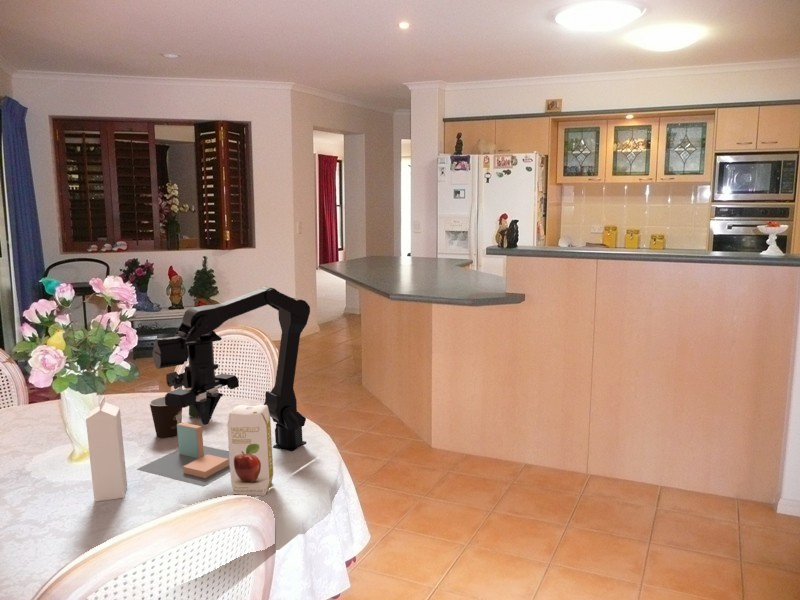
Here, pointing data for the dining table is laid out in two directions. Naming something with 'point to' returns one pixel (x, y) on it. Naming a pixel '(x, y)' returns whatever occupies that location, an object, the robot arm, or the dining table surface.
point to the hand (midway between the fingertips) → (205, 424)
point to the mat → (175, 462)
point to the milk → (106, 452)
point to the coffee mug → (165, 418)
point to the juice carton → (250, 449)
